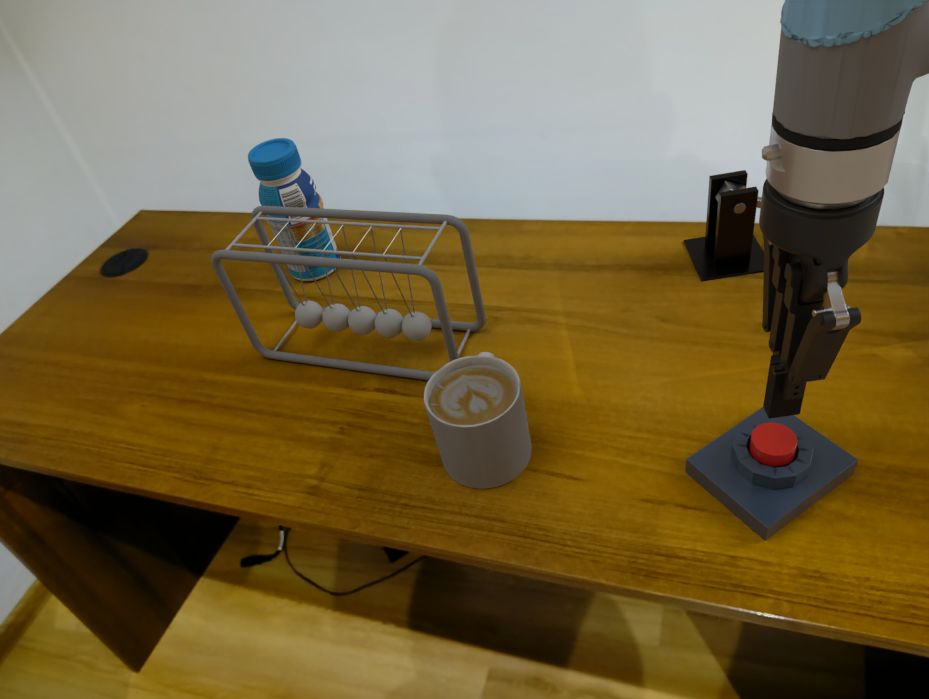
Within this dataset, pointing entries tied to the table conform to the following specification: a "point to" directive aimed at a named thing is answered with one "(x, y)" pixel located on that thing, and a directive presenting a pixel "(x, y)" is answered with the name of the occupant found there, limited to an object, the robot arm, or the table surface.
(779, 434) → the button
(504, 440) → the coffee mug
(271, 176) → the beverage bottle
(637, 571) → the table surface
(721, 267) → the bracket
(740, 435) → the button block
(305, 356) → the newton's cradle
